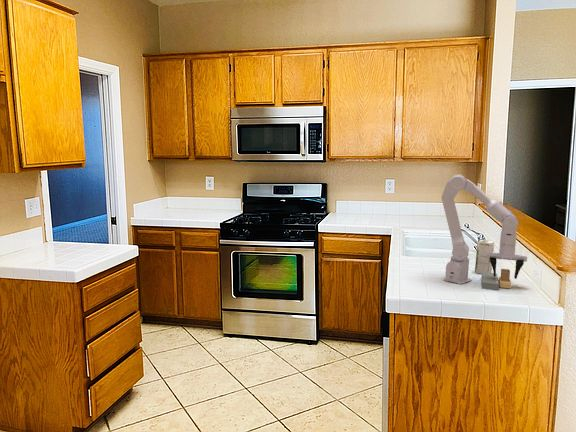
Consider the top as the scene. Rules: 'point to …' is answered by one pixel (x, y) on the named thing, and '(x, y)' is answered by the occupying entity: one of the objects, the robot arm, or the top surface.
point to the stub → (505, 279)
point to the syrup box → (483, 256)
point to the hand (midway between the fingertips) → (505, 277)
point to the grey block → (490, 281)
